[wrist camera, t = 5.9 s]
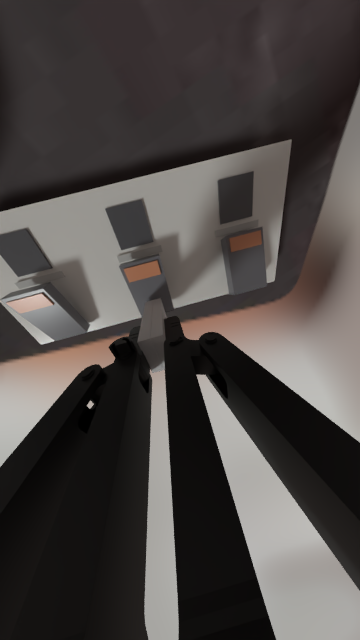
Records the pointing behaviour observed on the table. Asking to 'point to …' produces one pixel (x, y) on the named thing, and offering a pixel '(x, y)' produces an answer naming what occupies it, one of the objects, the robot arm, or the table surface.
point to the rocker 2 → (147, 281)
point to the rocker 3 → (244, 261)
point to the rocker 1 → (47, 311)
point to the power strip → (145, 234)
